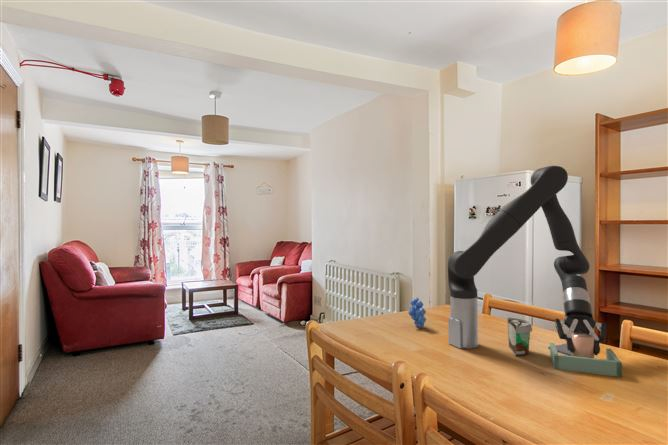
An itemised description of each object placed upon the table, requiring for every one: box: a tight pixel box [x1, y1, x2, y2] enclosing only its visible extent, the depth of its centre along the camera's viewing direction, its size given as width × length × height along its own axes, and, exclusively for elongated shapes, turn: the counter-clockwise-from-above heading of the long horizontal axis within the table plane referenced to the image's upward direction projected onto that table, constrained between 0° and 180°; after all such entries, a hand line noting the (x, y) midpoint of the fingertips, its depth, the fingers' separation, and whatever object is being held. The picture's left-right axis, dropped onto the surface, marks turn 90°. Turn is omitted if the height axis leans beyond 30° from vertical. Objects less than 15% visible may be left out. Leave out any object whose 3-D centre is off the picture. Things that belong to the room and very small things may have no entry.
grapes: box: [408, 296, 427, 328], centre depth 161 cm, size 12×7×12 cm, turn 13°
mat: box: [547, 342, 572, 356], centre depth 128 cm, size 9×9×1 cm
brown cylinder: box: [572, 332, 595, 358], centre depth 116 cm, size 6×6×9 cm
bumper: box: [549, 342, 623, 378], centre depth 116 cm, size 13×16×4 cm
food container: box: [506, 317, 533, 357], centre depth 128 cm, size 12×6×10 cm, turn 168°
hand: (584, 352), depth 114 cm, fingers closed on brown cylinder, 5 cm apart
